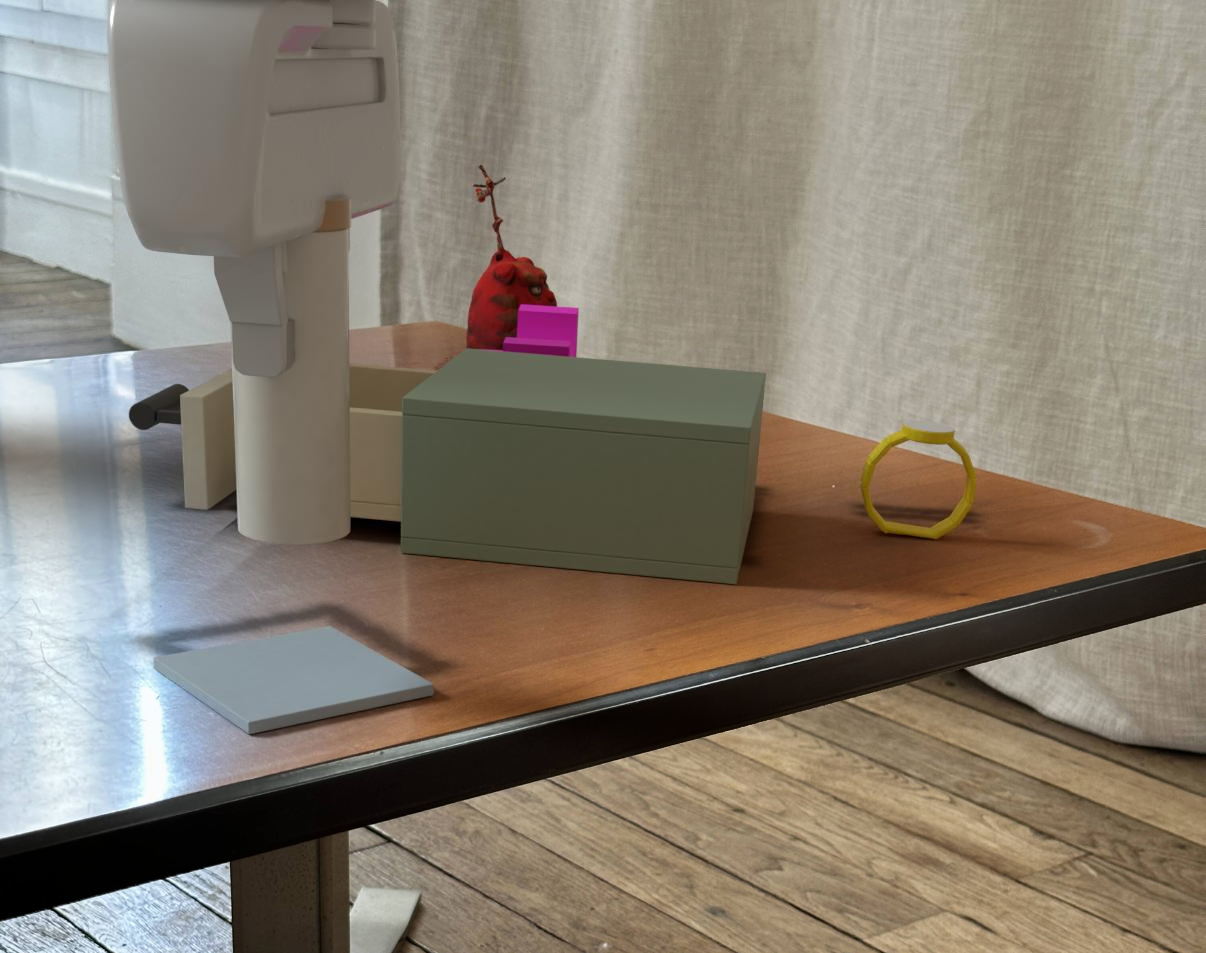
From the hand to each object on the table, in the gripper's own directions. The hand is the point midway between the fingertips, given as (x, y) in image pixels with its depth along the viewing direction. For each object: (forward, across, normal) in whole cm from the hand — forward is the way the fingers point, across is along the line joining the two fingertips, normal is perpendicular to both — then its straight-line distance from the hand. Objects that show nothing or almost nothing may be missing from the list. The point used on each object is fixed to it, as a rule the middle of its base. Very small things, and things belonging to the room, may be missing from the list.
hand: (288, 360), depth 62 cm
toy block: (+13, -44, +1) cm, 46 cm away
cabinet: (+12, -26, +8) cm, 30 cm away
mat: (+12, 0, 0) cm, 13 cm away
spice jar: (+6, 0, 0) cm, 6 cm away
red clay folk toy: (+13, -63, -3) cm, 64 cm away
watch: (+13, -31, +25) cm, 42 cm away
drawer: (+11, -26, -6) cm, 29 cm away
